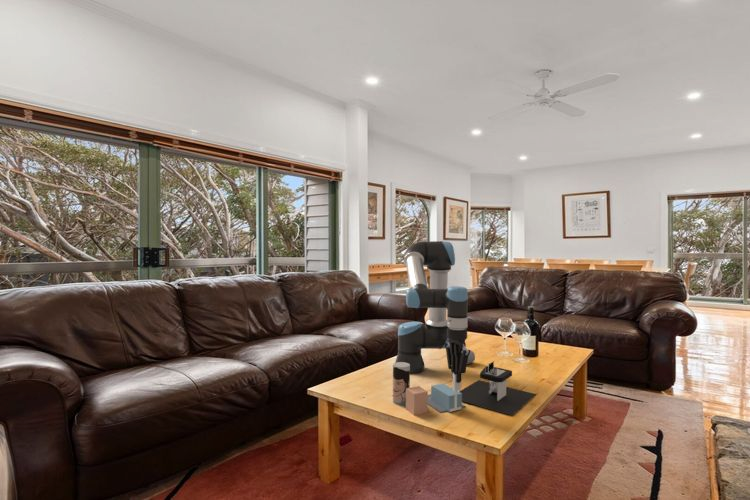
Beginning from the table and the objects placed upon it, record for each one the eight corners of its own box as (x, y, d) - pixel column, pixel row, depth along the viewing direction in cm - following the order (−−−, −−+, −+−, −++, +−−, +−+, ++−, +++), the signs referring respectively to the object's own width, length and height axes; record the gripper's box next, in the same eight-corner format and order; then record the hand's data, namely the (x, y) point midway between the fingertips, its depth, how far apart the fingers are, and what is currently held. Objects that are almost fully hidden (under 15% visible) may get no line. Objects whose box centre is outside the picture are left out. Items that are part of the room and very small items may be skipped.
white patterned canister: (392, 398, 166) (392, 362, 165) (409, 398, 166) (409, 362, 165) (393, 404, 159) (393, 367, 159) (410, 405, 159) (410, 367, 158)
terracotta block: (405, 409, 155) (405, 388, 155) (419, 406, 158) (419, 386, 157) (413, 415, 150) (414, 394, 149) (427, 412, 152) (427, 391, 152)
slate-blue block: (449, 411, 152) (431, 400, 162) (462, 409, 154) (443, 397, 165) (449, 396, 151) (431, 385, 162) (462, 393, 154) (443, 383, 165)
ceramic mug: (476, 364, 212) (476, 349, 212) (465, 367, 207) (465, 352, 207) (460, 359, 220) (460, 345, 220) (450, 362, 215) (450, 348, 215)
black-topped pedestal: (478, 380, 187) (479, 351, 187) (536, 394, 170) (537, 363, 170) (448, 397, 165) (449, 365, 165) (512, 415, 149) (512, 379, 148)
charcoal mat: (417, 397, 166) (417, 396, 166) (441, 393, 171) (441, 392, 171) (440, 412, 152) (440, 411, 152) (465, 407, 157) (465, 406, 157)
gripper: (438, 325, 156) (438, 385, 157) (459, 332, 144) (459, 397, 145) (454, 323, 159) (454, 383, 160) (476, 330, 148) (475, 394, 148)
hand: (456, 390), depth 152 cm, fingers closed
